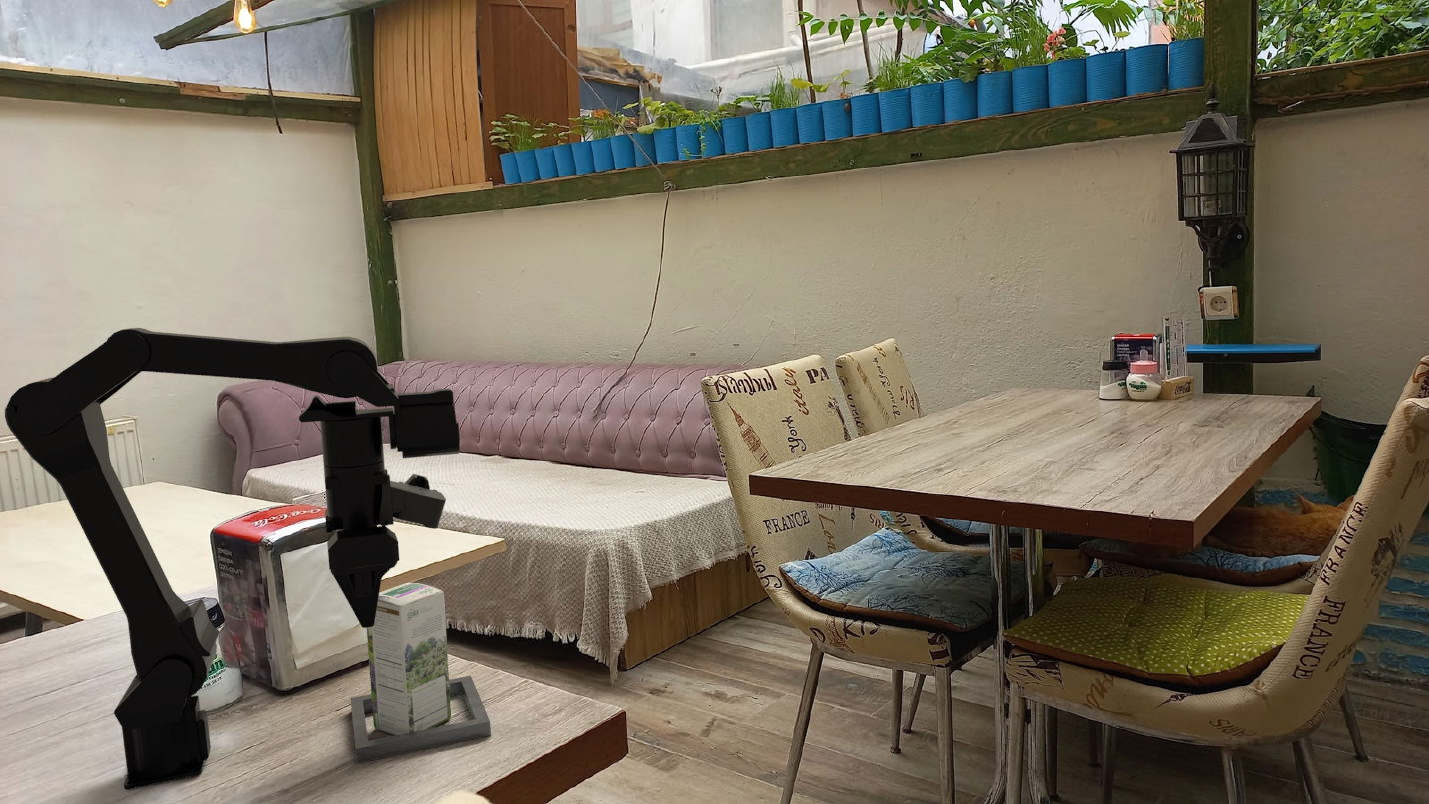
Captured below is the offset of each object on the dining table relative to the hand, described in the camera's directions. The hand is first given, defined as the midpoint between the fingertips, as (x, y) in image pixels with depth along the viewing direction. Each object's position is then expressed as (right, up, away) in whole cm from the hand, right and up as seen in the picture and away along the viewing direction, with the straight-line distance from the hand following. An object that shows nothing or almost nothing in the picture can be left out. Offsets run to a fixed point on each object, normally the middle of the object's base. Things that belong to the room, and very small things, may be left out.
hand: (365, 612), depth 99 cm
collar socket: (+4, -12, +3) cm, 14 cm away
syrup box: (+4, -13, +3) cm, 14 cm away
